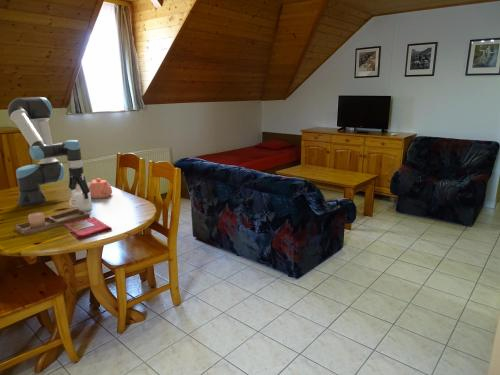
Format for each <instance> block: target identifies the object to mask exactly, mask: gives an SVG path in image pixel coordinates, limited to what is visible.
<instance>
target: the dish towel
mask: <svg viewBox="0 0 500 375" xmlns="http://www.w3.org/2000/svg"><path fill="white" fill-rule="evenodd" d="M82 222H88V223H89V224H92V225H90V226H87V227H84V228H81V229H78V230H77V229H75V228H74V227H73V226H71V225H73V224H78V223H82ZM63 226H65V227H66V229H67V228H68V229H69V230H70V231H71V232H70V234H71V235H72V236H74V237H75V238H76V239H78V240H82V239H85V238H89V237H92V236H97V235H99V234H104V233H107V232H110V231H112V229H113V228H112V227H110V226H109V225H107V224H105V223H104V222H103V221H101V220H99V219H98V218H96V217H95V216H92V217H91V216H90V218H87V219H81V220H78V221H74V222H71V223H64V225H63Z"/></svg>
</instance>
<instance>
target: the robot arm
mask: <svg viewBox="0 0 500 375" xmlns="http://www.w3.org/2000/svg"><path fill="white" fill-rule="evenodd" d="M7 115H8V117H9V119H10V120H11V121H12V122H14V123H15V125H16V126H17V128H18V129H19V131H20V132H21V133H22V136H23V137H24V139H25V141H26V142H27V143H28V145H29V146H30V147H29V148H28V149H29V150H28V152H29V156H30V158H31V159H32V160H39V162H38V165H37V164H28V165H24V166H20V167H18V168H17V169H16V170H15V174H16V175H15V176H16V180H17V186H18V191H19V193H18V194H19V195H18V200H17V203H18V206H20V207H34V206H39V205H41V204H43V203H45V202H47V198H46V196H45V194H44V193H43V190H42V187H41V186H42V185H46V184H51V183H57V182H61V181H62V180H64V178H65V174H66V173H65V166H64V165H63V163H61V162H60V160H59V159H57V158H56V157H58V158H59V157H63V156H66V160H67V166H68V173H69V174H68V175H69V176H68V177H69V180H68V189H70V190H71V197H73V196H75V193H76V192H78V191H77V185H79V188H80V191H82V192H83V193H82V194H83V201H84V205H86V204H89V199H88V193H89V192H90V191H89V188H88V187H89V186H88V183H87V180H86V177H85V176H84V175H83V176H82V174H84V167H83V160H82V152H81V151H82V150H81V144H80V141H79V140H77V139H68V140H65V141H59V142H56V143H53V139H52V134H51V129H50V124H49V121H50V119H51V116H52V115H53V106H52V104H51V102H50V100H49V99H47V98H46V97H44V96H43V97H41V96H33V97H32V96H31V97H29V96H28V97H17V98H15V99H13V100H12V101H11V102H10V103H9V104H8V106H7ZM72 201H74V202H75V201H76V198H74V199H73V200H72Z"/></svg>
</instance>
